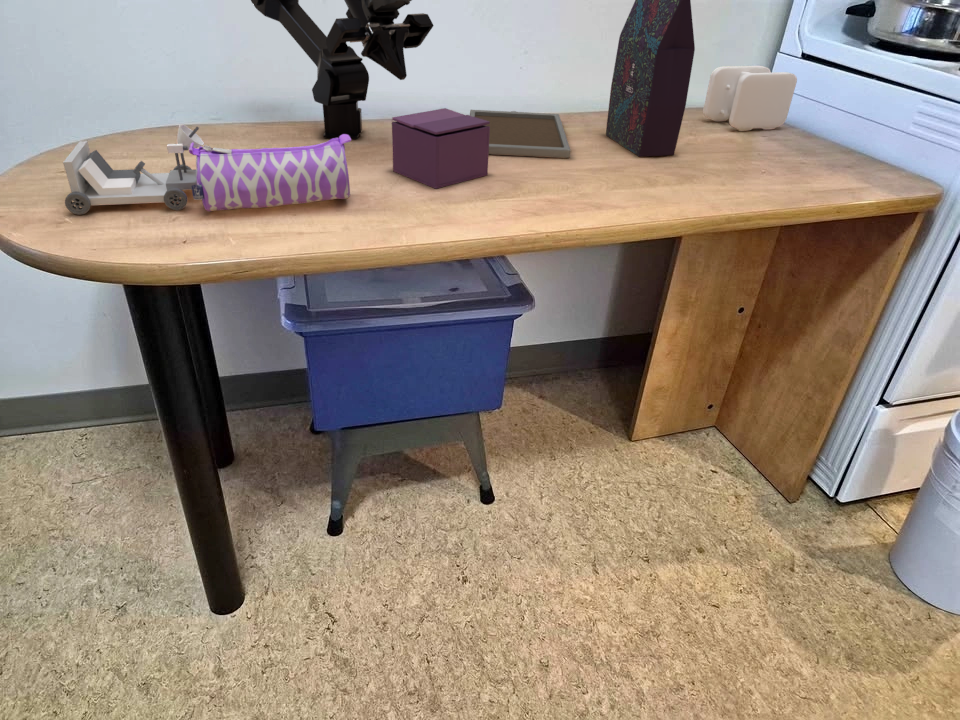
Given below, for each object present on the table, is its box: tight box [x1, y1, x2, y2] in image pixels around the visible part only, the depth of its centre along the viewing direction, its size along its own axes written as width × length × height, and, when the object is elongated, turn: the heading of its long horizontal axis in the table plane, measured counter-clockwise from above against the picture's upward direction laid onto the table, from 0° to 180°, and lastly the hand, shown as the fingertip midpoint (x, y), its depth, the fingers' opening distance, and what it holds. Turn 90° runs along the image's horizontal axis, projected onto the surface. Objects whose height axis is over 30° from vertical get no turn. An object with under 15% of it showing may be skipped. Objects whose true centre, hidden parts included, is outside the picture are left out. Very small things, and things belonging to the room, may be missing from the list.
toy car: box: [62, 123, 205, 215], centre depth 97 cm, size 18×10×12 cm
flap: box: [391, 107, 465, 128], centre depth 112 cm, size 5×11×1 cm, turn 134°
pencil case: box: [188, 134, 352, 212], centre depth 98 cm, size 22×9×9 cm, turn 111°
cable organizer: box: [702, 65, 798, 132], centre depth 150 cm, size 15×11×12 cm
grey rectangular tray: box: [469, 109, 571, 159], centre depth 137 cm, size 19×2×30 cm
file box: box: [391, 114, 490, 190], centre depth 113 cm, size 11×12×9 cm
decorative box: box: [605, 0, 696, 158], centre depth 128 cm, size 8×16×28 cm, turn 16°
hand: (403, 78), depth 113 cm, fingers closed
